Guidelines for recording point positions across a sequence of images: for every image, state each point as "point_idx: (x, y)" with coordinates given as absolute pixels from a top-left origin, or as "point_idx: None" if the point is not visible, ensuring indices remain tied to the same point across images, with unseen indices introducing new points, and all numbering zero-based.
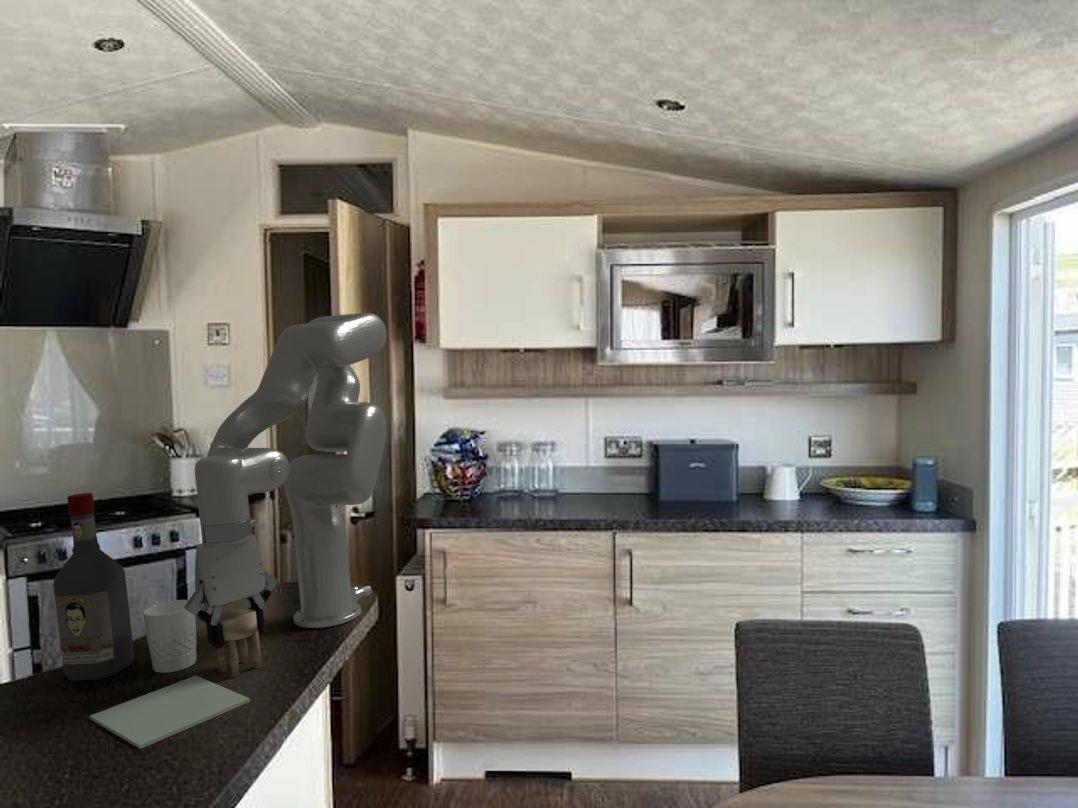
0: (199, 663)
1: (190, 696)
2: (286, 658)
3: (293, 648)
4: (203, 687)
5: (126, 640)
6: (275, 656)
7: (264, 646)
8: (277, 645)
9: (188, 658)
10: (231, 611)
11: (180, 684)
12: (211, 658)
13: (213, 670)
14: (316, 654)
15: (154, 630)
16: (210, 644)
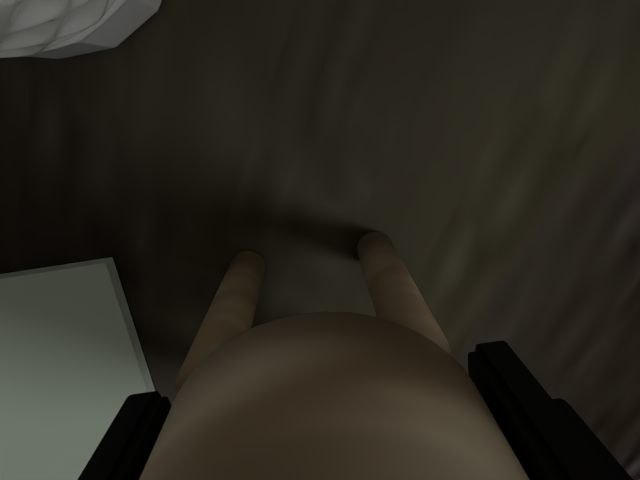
0: (181, 34)
1: (40, 468)
2: (523, 362)
3: (625, 270)
4: (106, 425)
5: None
6: (508, 298)
7: (563, 99)
8: (612, 151)
9: (87, 46)
10: (378, 474)
11: (17, 317)
12: (263, 10)
13: (213, 220)
14: (626, 421)
15: None
16: (131, 396)
